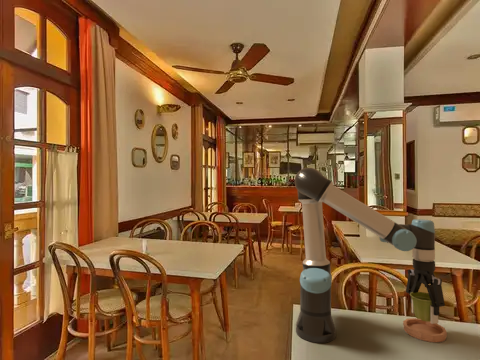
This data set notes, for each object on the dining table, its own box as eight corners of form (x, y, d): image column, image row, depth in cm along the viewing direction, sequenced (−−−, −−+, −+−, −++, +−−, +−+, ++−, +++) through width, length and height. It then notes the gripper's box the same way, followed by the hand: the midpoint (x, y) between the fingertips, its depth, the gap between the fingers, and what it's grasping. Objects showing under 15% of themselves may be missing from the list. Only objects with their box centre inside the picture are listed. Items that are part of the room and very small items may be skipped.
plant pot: (443, 325, 109) (443, 301, 109) (415, 322, 111) (415, 299, 111) (432, 314, 118) (432, 292, 118) (406, 312, 120) (406, 291, 120)
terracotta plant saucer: (406, 337, 111) (406, 330, 111) (401, 321, 124) (401, 315, 124) (450, 345, 105) (450, 338, 105) (441, 328, 118) (441, 322, 118)
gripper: (456, 265, 106) (457, 329, 105) (410, 252, 126) (411, 306, 126) (439, 267, 104) (440, 331, 103) (395, 253, 124) (396, 307, 124)
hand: (424, 317), depth 114 cm, fingers closed on plant pot, 8 cm apart
